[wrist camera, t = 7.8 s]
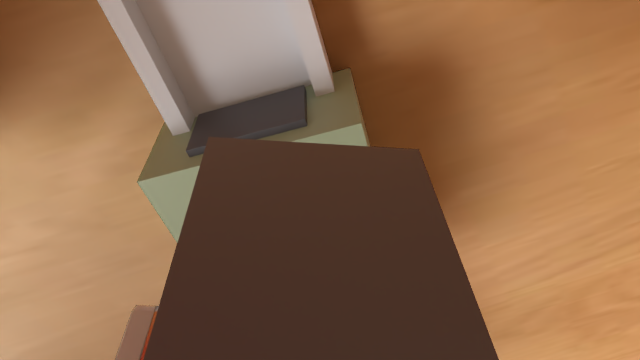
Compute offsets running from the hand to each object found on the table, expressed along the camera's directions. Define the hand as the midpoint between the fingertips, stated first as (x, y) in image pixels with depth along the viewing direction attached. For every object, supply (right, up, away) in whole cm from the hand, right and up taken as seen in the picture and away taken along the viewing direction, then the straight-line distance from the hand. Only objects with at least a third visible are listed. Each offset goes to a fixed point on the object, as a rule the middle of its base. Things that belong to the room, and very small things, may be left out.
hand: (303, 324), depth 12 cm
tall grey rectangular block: (0, +1, +2) cm, 2 cm away
